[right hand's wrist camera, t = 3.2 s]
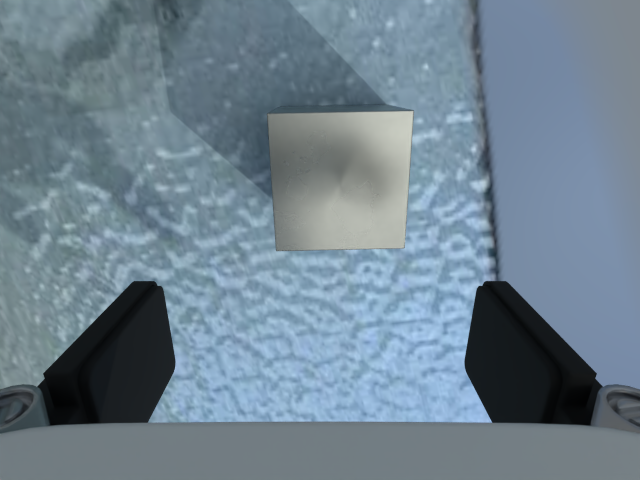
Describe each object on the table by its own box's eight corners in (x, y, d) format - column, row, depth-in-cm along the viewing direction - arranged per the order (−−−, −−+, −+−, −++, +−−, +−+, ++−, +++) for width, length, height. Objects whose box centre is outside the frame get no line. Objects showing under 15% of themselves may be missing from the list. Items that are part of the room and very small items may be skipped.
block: (285, 211, 27) (276, 251, 20) (279, 106, 24) (266, 113, 18) (382, 209, 27) (404, 248, 20) (387, 104, 24) (414, 110, 18)
